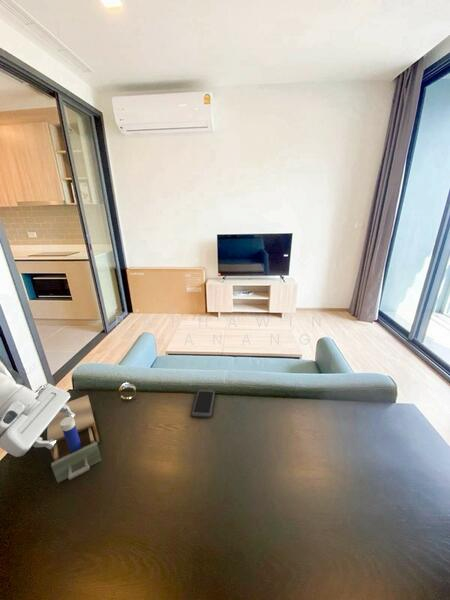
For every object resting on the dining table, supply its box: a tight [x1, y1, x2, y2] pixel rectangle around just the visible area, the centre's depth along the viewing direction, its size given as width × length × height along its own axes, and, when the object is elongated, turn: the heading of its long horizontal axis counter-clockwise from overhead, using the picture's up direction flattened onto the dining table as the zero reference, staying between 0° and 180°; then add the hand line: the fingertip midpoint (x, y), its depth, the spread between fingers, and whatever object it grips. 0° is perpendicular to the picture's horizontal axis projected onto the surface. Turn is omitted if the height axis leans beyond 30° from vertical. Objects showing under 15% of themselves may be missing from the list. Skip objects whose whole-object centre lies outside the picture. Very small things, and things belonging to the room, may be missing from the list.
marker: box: [60, 417, 82, 454], centre depth 73 cm, size 3×3×14 cm
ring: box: [117, 382, 137, 401], centre depth 98 cm, size 7×3×8 cm, turn 98°
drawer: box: [50, 426, 102, 484], centre depth 75 cm, size 19×11×7 cm, turn 35°
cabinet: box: [46, 394, 100, 462], centre depth 83 cm, size 16×13×9 cm
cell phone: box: [191, 389, 216, 418], centre depth 97 cm, size 7×14×1 cm, turn 175°
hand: (63, 431), depth 72 cm, fingers open, 8 cm apart
